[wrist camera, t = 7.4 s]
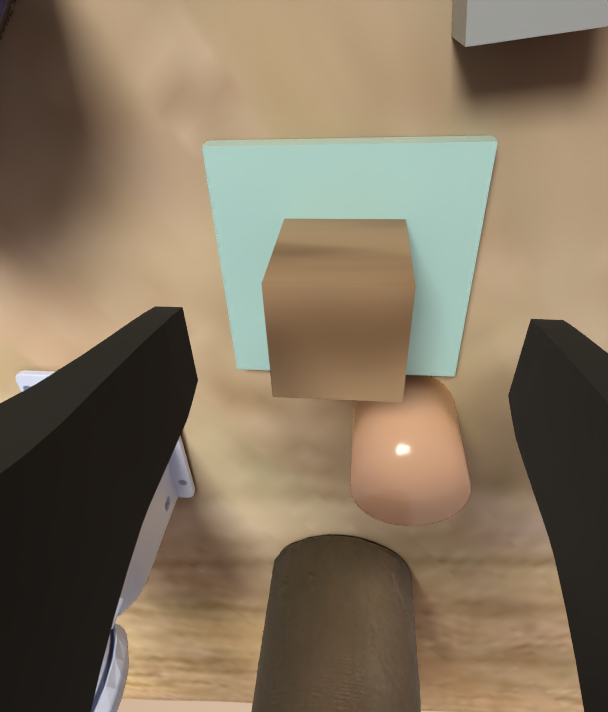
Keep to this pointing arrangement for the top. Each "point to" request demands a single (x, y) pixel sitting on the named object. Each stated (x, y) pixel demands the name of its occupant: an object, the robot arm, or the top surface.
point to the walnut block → (339, 309)
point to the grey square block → (523, 19)
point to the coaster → (354, 201)
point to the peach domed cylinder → (409, 456)
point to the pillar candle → (338, 631)
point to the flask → (5, 14)
